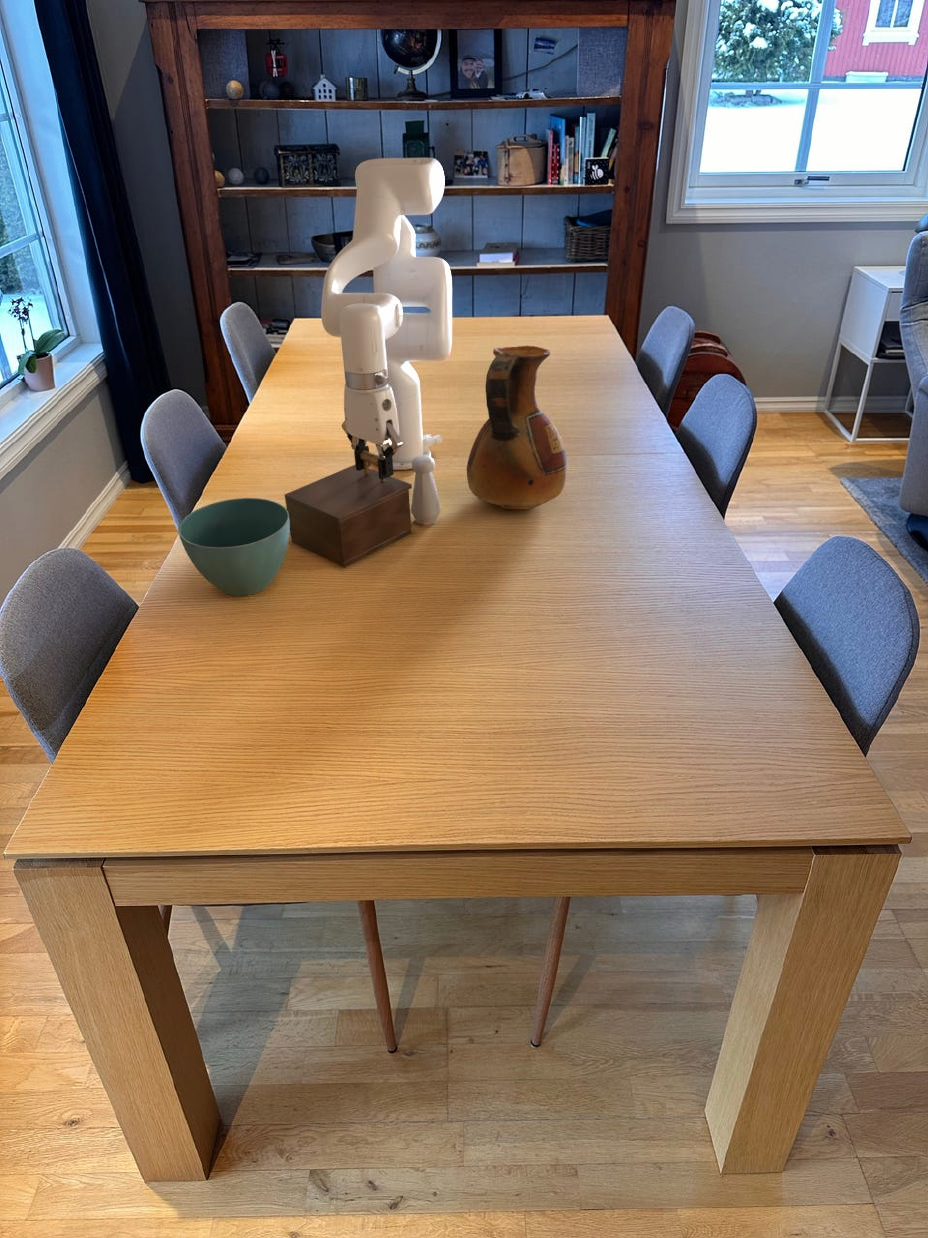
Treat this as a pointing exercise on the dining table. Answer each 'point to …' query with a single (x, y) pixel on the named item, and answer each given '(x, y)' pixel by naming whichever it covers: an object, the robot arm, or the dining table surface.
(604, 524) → the dining table surface
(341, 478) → the chest lid
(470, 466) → the ceramic pitcher
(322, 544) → the chest
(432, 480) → the salt shaker
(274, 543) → the green bowl
